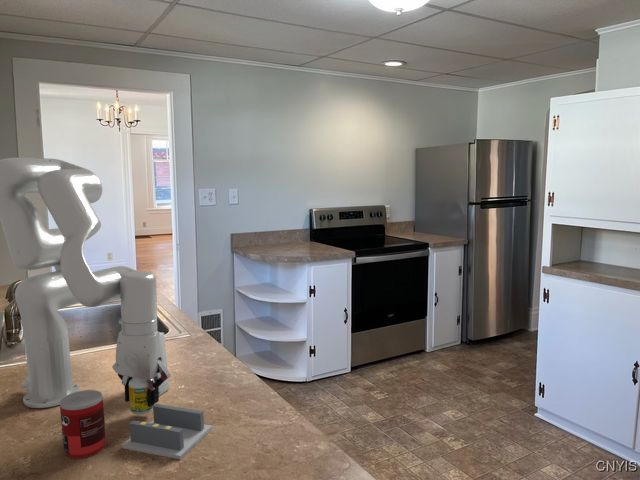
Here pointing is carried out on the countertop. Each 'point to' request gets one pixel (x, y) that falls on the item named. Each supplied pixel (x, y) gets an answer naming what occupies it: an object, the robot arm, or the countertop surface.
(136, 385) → the supplement bottle
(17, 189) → the robot arm
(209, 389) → the countertop surface
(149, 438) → the socket block
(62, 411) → the canned food
